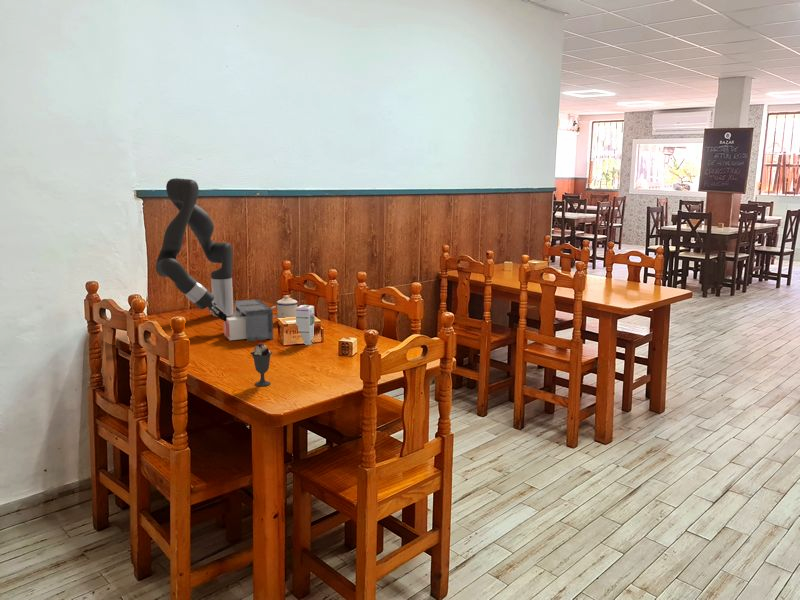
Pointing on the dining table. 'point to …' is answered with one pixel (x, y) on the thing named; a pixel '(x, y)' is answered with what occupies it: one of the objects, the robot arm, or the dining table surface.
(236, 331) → the white cube pink side
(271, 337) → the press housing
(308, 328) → the syrup box
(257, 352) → the sundae
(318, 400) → the dining table surface
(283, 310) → the teacup with lid
